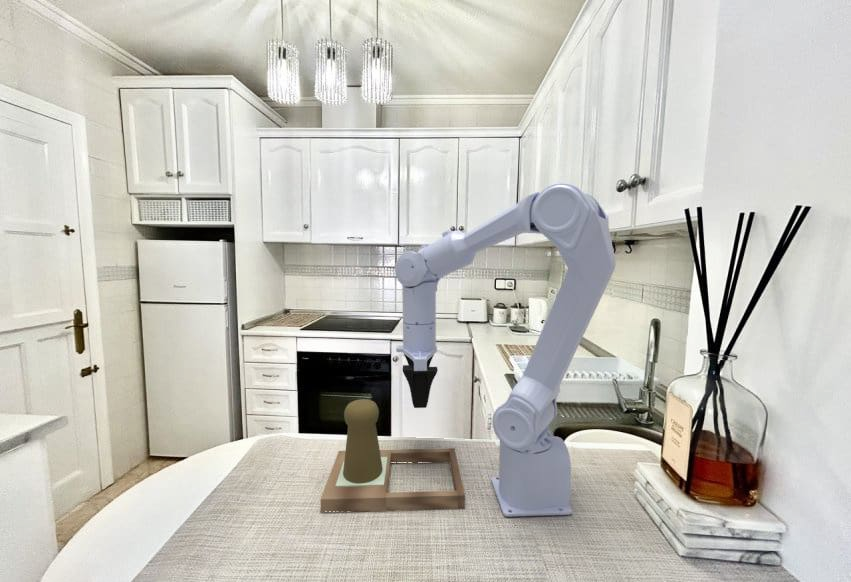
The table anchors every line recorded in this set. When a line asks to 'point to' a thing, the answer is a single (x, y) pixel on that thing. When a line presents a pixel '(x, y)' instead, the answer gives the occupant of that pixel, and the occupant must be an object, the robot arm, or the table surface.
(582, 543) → the table surface
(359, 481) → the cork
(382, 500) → the well board
